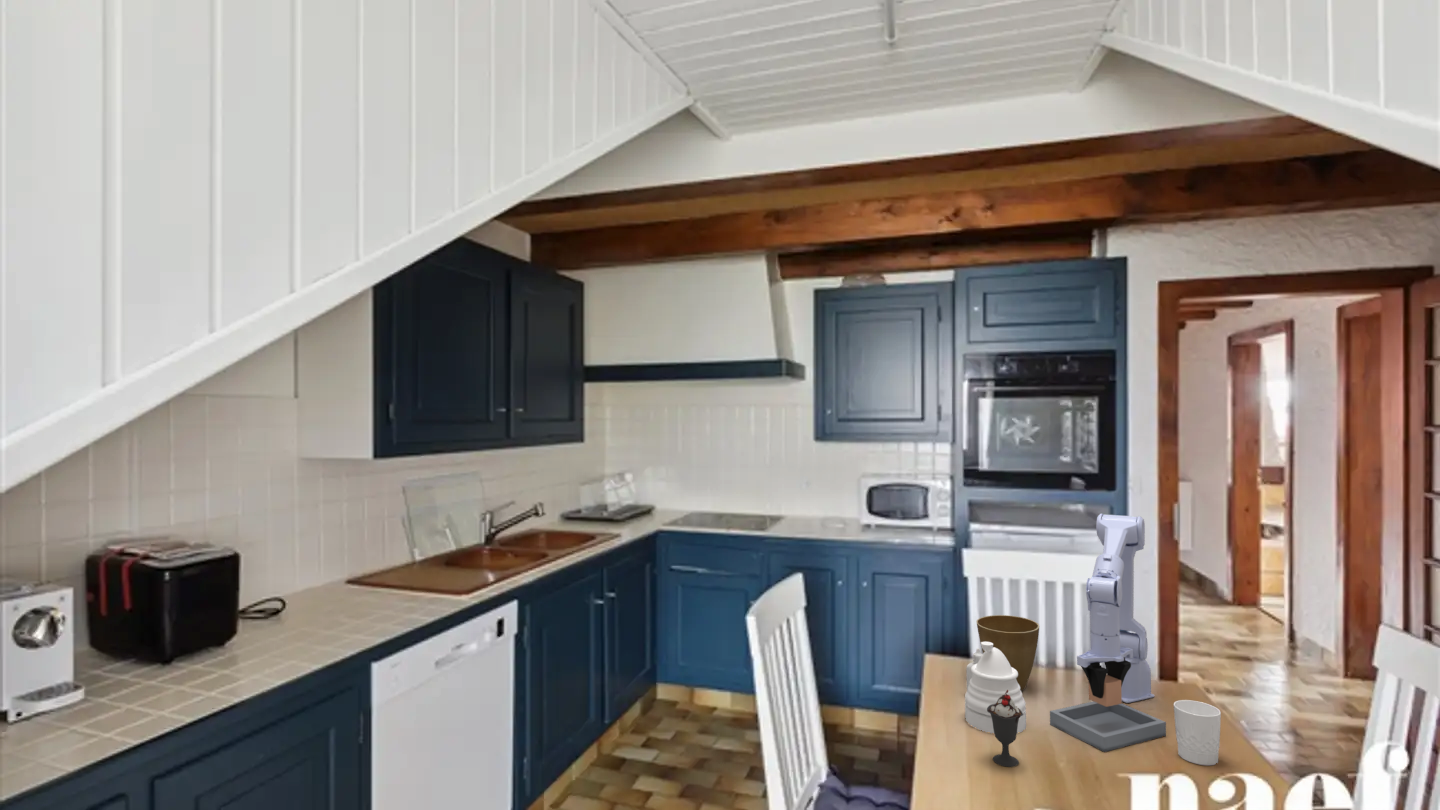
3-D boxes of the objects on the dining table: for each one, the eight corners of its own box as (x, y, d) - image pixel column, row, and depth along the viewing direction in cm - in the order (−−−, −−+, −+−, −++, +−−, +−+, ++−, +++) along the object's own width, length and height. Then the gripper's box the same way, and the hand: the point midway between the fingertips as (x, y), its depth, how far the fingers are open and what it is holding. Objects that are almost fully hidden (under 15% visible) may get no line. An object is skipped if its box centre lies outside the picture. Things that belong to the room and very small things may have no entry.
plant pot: (1008, 671, 192) (1007, 611, 192) (1054, 691, 178) (1052, 626, 178) (965, 680, 186) (963, 619, 186) (1008, 701, 172) (1007, 635, 172)
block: (1103, 695, 160) (1103, 673, 160) (1121, 703, 155) (1121, 680, 155) (1088, 699, 158) (1088, 676, 158) (1106, 706, 154) (1105, 683, 154)
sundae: (1008, 772, 139) (1006, 695, 139) (981, 758, 145) (979, 683, 145) (1031, 764, 142) (1029, 688, 142) (1003, 750, 148) (1002, 677, 148)
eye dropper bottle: (977, 692, 178) (976, 643, 179) (994, 700, 173) (993, 650, 173) (964, 695, 177) (963, 646, 177) (981, 703, 171) (980, 653, 172)
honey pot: (995, 739, 153) (993, 655, 153) (953, 716, 165) (951, 638, 165) (1039, 727, 158) (1037, 646, 158) (995, 706, 170) (994, 630, 170)
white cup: (1214, 751, 146) (1213, 702, 146) (1227, 770, 139) (1226, 718, 139) (1170, 746, 149) (1169, 697, 149) (1180, 764, 141) (1179, 713, 141)
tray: (1109, 710, 166) (1108, 697, 166) (1166, 735, 153) (1165, 722, 153) (1050, 724, 160) (1049, 711, 160) (1104, 752, 147) (1104, 737, 147)
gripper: (1095, 642, 150) (1097, 707, 150) (1145, 633, 155) (1146, 696, 155) (1068, 632, 157) (1069, 694, 157) (1116, 624, 162) (1117, 684, 162)
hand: (1106, 694), depth 156 cm, fingers closed on block, 4 cm apart
